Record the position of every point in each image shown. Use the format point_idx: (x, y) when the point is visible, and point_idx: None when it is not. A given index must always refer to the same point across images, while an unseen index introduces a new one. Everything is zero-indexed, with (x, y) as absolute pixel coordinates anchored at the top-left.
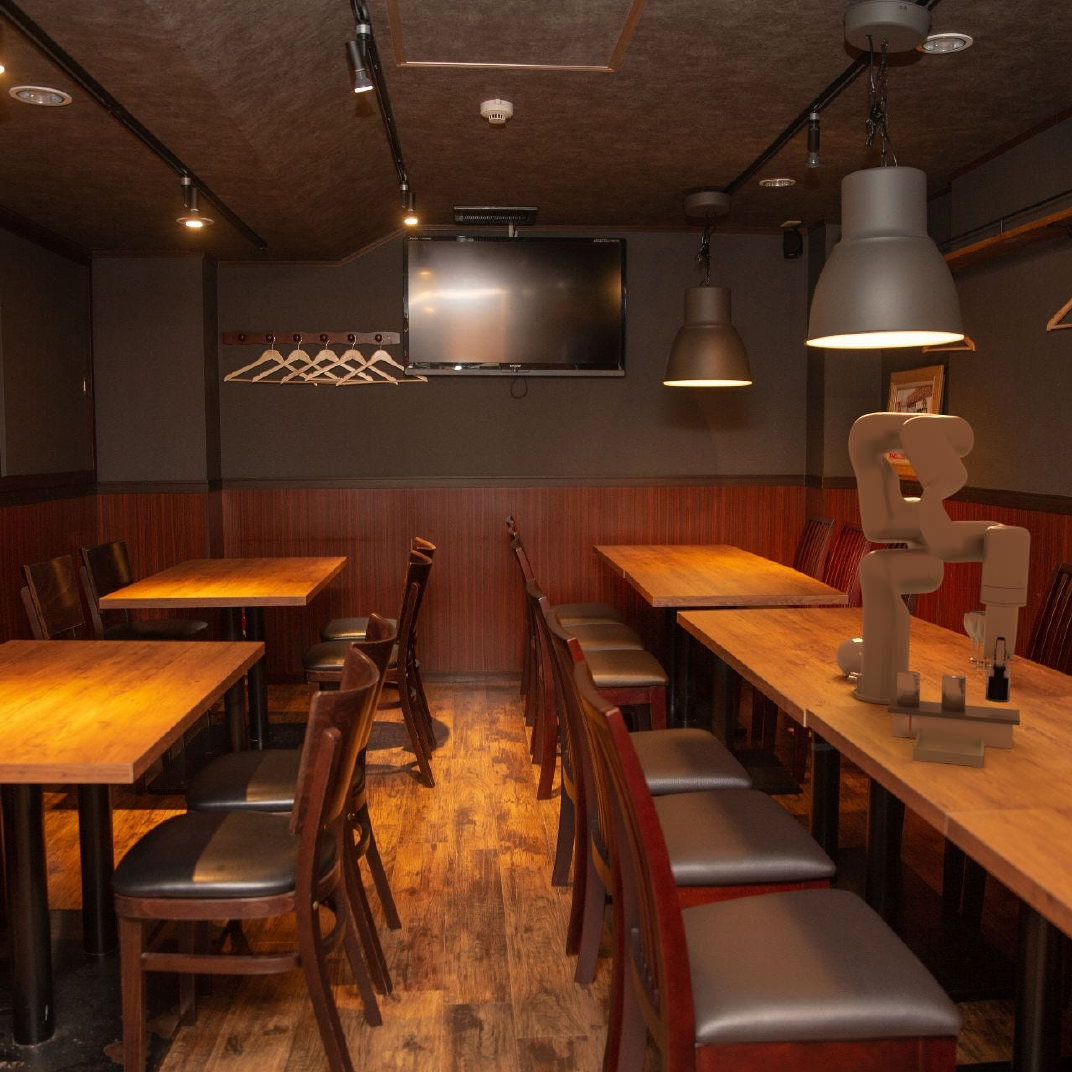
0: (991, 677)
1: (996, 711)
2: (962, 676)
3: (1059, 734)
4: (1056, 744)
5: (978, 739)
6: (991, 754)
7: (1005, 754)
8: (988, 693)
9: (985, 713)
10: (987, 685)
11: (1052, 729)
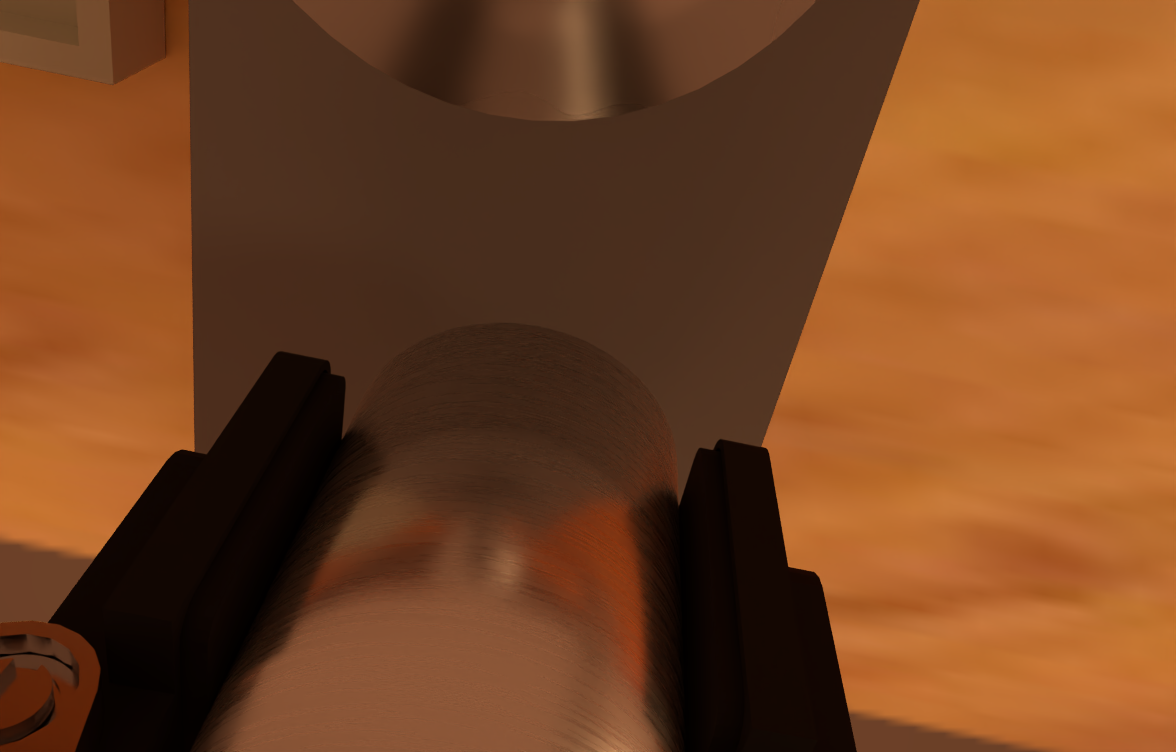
0: (119, 638)
1: None
2: (628, 35)
3: (865, 694)
4: None
5: (80, 15)
6: (65, 101)
7: (127, 224)
8: (252, 391)
9: (428, 229)
10: (396, 468)
11: (1007, 688)
